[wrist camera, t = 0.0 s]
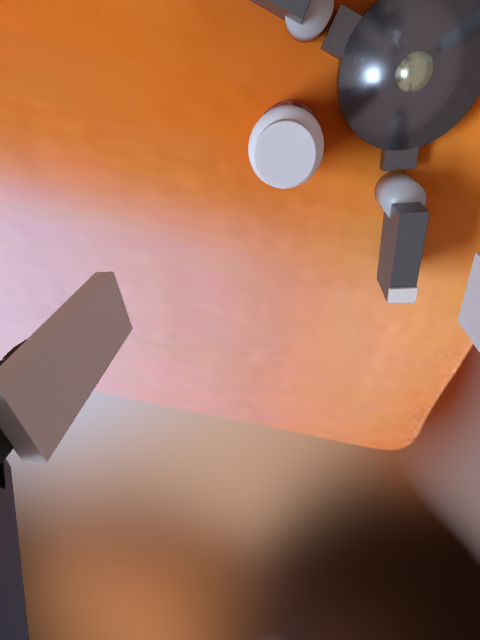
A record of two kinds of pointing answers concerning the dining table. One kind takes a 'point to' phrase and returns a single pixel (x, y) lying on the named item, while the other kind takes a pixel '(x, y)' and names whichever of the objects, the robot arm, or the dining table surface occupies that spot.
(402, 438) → the dining table surface
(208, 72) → the dining table surface
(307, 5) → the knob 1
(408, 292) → the dark bar with dome
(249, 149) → the pill bottle
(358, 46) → the base
